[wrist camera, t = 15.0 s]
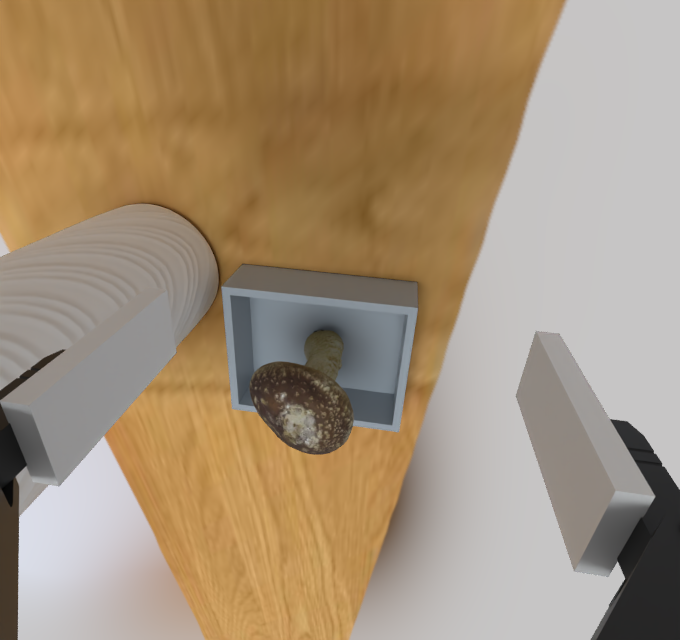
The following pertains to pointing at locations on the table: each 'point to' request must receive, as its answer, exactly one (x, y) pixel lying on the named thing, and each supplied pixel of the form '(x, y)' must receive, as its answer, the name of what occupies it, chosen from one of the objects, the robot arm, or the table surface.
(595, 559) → the robot arm
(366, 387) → the bin
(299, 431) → the mushroom
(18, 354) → the vase
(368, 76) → the table surface
